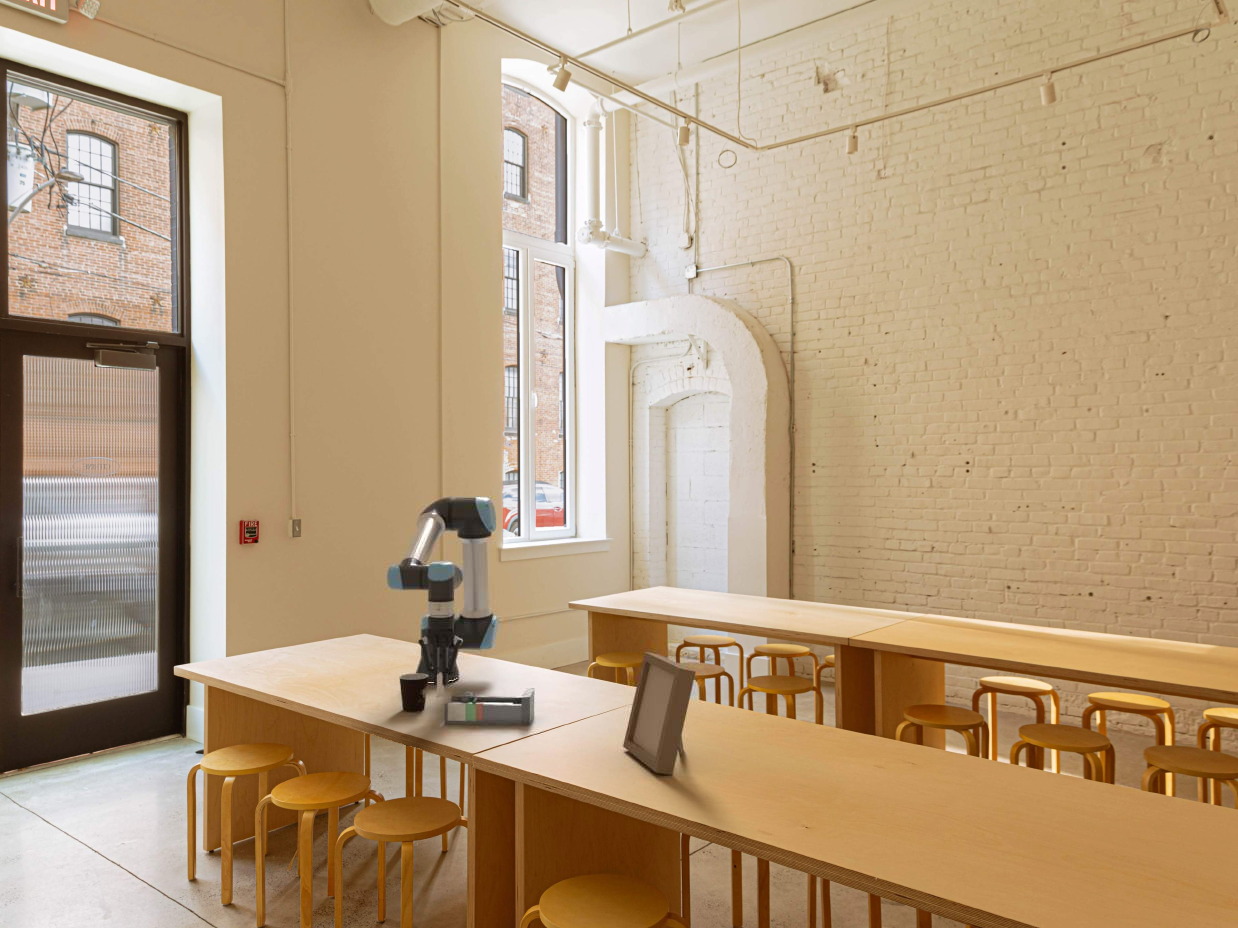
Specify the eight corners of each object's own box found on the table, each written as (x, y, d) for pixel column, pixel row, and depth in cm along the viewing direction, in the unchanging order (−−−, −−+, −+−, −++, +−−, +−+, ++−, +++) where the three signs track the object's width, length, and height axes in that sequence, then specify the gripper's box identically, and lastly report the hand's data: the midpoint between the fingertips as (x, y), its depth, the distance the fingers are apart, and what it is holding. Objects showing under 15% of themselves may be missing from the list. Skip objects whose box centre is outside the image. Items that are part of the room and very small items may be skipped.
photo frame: (655, 776, 202) (657, 669, 203) (622, 750, 222) (624, 652, 223) (712, 770, 207) (714, 666, 208) (675, 745, 227) (676, 650, 228)
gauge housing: (452, 714, 256) (452, 687, 256) (534, 715, 256) (534, 688, 256) (444, 724, 245) (444, 696, 245) (529, 725, 244) (529, 697, 245)
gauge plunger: (465, 711, 254) (466, 690, 254) (513, 711, 253) (513, 691, 254) (459, 720, 244) (459, 698, 244) (508, 720, 244) (508, 699, 244)
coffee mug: (411, 714, 255) (411, 680, 256) (393, 709, 261) (393, 676, 261) (441, 706, 265) (442, 674, 265) (423, 702, 270) (423, 670, 270)
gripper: (415, 617, 248) (414, 699, 248) (460, 617, 247) (460, 699, 247) (421, 612, 255) (421, 692, 255) (465, 613, 255) (465, 692, 255)
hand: (440, 695), depth 251 cm, fingers closed
